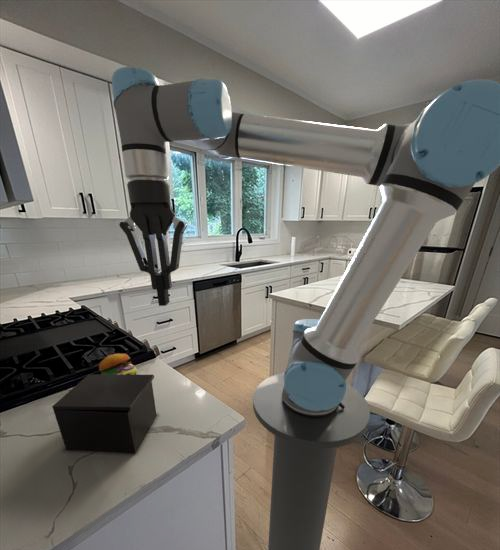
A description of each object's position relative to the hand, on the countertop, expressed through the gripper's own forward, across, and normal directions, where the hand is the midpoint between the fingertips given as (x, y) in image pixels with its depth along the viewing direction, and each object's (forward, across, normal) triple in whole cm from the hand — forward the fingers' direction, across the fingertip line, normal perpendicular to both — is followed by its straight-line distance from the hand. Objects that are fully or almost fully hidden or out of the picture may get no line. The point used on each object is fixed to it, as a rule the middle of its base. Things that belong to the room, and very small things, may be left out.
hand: (164, 303), depth 60 cm
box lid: (+19, +13, +6) cm, 24 cm away
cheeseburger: (+30, +23, -16) cm, 41 cm away
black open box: (+30, +14, +6) cm, 33 cm away
